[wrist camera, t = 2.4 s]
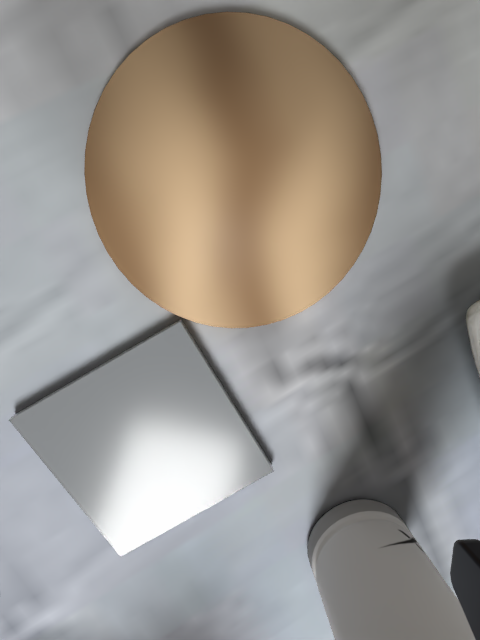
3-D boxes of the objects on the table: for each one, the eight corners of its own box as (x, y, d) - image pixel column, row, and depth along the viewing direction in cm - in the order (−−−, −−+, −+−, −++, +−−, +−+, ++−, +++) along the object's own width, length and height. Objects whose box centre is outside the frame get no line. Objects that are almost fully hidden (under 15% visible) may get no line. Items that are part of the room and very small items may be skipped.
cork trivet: (156, 363, 19) (155, 366, 19) (33, 78, 16) (28, 73, 16) (405, 272, 20) (409, 273, 19) (334, -28, 16) (338, -35, 16)
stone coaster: (122, 548, 22) (120, 556, 21) (14, 414, 19) (8, 419, 19) (271, 464, 21) (273, 471, 21) (180, 319, 19) (180, 321, 18)
